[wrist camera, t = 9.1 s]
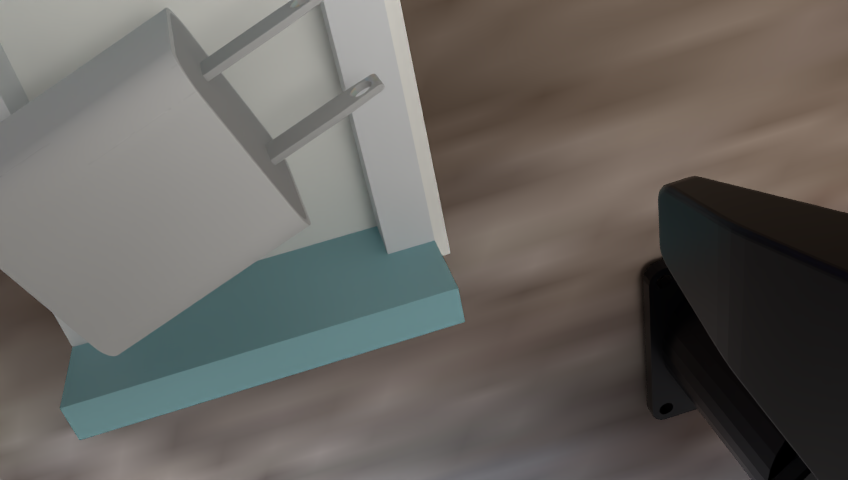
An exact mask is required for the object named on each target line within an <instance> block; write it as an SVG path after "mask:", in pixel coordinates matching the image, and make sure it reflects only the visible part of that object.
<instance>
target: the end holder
mask: <svg viewBox="0 0 848 480" xmlns="http://www.w3.org/2000/svg"><path fill="white" fill-rule="evenodd" d="M289 1H291V0H0V122H2V121H3V120H4V119H6V118H7V117H9V116H10V115H12V114H13V113H15V112H16V111H17V110H19V109H20V108H22V107H23V106H25V105H26V104H28V103H29V102H30V101H32V100H33V99H35V98H36V97H38V96H39V95H41V94H42V93H43V92H45V91H46V90H48V89H49V88H51V87H52V86H54V85H55V84H56V83H58V82H59V81H61V80H62V79H64V78H65V77H67V76H68V75H69V74H71V73H72V72H74V71H75V70H77V69H78V68H80V67H81V66H82V65H84V64H85V63H87V62H88V61H90V60H91V59H93V58H94V57H95V56H97V55H98V54H100V53H101V52H103V51H104V50H106V49H107V48H108V47H110V46H111V45H113V44H114V43H116V42H117V41H119V40H120V39H121V38H123V37H124V36H126V35H127V34H129V33H130V32H132V31H133V30H134V29H136V28H137V27H139V26H140V25H142V24H143V23H145V22H146V21H147V20H149V19H150V18H152V17H153V16H155V15H156V14H158V13H159V12H160V11H162V10H163V9H165V8H169V9H170V10H171V11H172V12H173V13H174V14H175V15H176V16H177V17H178V18H179V19H180V20H181V21H182V23H183V24H184V25H185V26H186V27H187V29H188V30H189V31H190V33H191V34H192V35H193V36H194V38H195V39H196V40H197V42H198V43H199V44H200V45H201V47H202V48H203V49H204V50H205V52H206V53H207V54H208V56H210V55H212V54H213V53H215V52H216V51H217V50H219V49H220V48H222V47H223V46H225V45H226V44H228V43H229V42H231V41H232V40H233V39H235V38H236V37H238V36H239V35H241V34H242V33H244V32H245V31H246V30H248V29H249V28H251V27H252V26H254V25H255V24H257V23H258V22H260V21H261V20H262V19H264V18H265V17H267V16H268V15H270V14H271V13H273V12H274V11H276V10H277V9H279V8H280V7H282V6H283V5H285V4H286V3H288V2H289ZM222 74H223V75H224V76H225V77H226V79H227V80H228V81H229V82H230V84H231V85H232V86H233V88H234V89H235V90H236V91H237V93H238V94H239V95H240V97H241V98H242V99H243V100H244V102H245V103H246V104H247V106H248V107H249V108H250V109H251V111H252V112H253V113H254V115H255V116H256V117H257V118H258V120H259V121H260V122H261V123H262V125H263V126H264V127H265V129H266V130H267V131H268V133H269V134H270V135H271V137H272V138H273V139H275V138H276V137H278V136H279V135H281V134H282V133H284V132H285V131H286V130H288V129H289V128H291V127H292V126H294V125H295V124H297V123H298V122H300V121H301V120H303V119H304V118H305V117H307V116H308V115H310V114H311V113H313V112H314V111H316V110H317V109H319V108H320V107H322V106H323V105H324V104H326V103H327V102H329V101H330V100H332V99H333V98H335V97H336V96H338V95H339V94H341V93H343V92H344V91H346V90H347V89H349V88H350V87H352V86H354V85H355V84H357V83H358V82H360V81H361V80H363V79H364V78H366V77H368V76H369V75H371V74H376V75H377V76H378V78H379V79H380V80H381V81H382V83H383V84H384V86H385V87H384V89H383V90H382V91H381V92H380V93H378V94H377V95H376V96H374V97H373V98H371V99H370V100H369V101H367V102H366V103H365V104H363V105H362V106H360V107H359V108H358V109H356V110H355V111H354V112H352V113H351V114H349V115H348V116H347V117H345V118H344V119H342V120H341V121H339V122H338V123H336V124H335V125H334V126H332V127H331V128H329V129H328V130H326V131H325V132H323V133H322V134H320V135H319V136H317V137H316V138H314V139H313V140H311V141H310V142H309V143H307V144H306V145H304V146H303V147H301V148H300V149H298V150H297V151H295V152H294V153H292V154H291V155H289V156H288V157H287V158H285V159H286V161H287V163H288V165H289V168H290V170H291V173H292V175H293V178H294V181H295V183H296V186H297V188H298V191H299V193H300V196H301V198H302V201H303V204H304V206H305V209H306V211H307V214H308V216H309V219H310V222H311V225H309V226H308V227H306V228H305V229H303V230H302V231H300V232H299V233H298V234H296V235H295V236H293V237H292V238H290V239H289V240H287V241H286V242H284V243H283V244H281V245H280V246H278V247H277V248H275V249H274V250H272V251H271V252H269V253H268V254H267V255H265V256H264V257H262V258H261V259H259V260H258V261H256V262H255V263H253V264H252V265H250V266H249V267H247V268H246V269H244V270H243V271H241V272H240V273H238V274H237V275H236V276H234V277H233V278H231V279H230V280H228V281H227V282H225V283H224V284H222V285H221V286H219V287H218V288H216V289H215V290H213V291H212V292H210V293H209V294H208V295H206V296H205V297H203V298H202V299H200V300H199V301H197V302H196V303H194V304H193V305H191V306H190V307H188V308H187V309H185V310H184V311H182V312H181V313H179V314H178V315H177V316H175V317H174V318H172V319H171V320H169V321H168V322H166V323H165V324H163V325H162V326H160V327H159V328H157V329H156V330H154V331H153V332H151V333H150V334H149V335H147V336H146V337H144V338H143V339H141V340H140V341H138V342H137V343H135V344H134V345H132V346H131V347H129V348H128V349H126V350H125V351H123V352H122V353H120V354H119V355H117V356H109V355H106V354H104V353H102V352H100V351H98V350H97V349H96V348H94V347H93V346H92V345H91V344H89V343H88V342H87V341H86V340H85V339H83V338H82V337H81V336H80V335H79V334H77V333H76V332H75V331H74V330H73V329H71V328H70V327H69V326H68V325H67V324H65V323H64V322H63V321H62V320H61V319H59V318H58V317H57V316H56V315H55V314H54V316H55V318H56V319H57V321H58V323H59V325H60V326H61V328H62V330H63V332H64V333H65V335H66V337H67V339H68V340H69V342H70V344H71V345H72V352H71V357H70V362H69V367H68V371H67V376H66V381H65V386H64V391H63V396H62V401H61V405H60V409H61V411H62V413H63V414H64V416H65V418H66V419H67V421H68V422H69V424H70V426H71V427H72V429H73V430H74V432H75V434H76V435H77V437H78V439H79V440H82V439H86V438H89V437H92V436H95V435H99V434H102V433H105V432H108V431H112V430H115V429H118V428H121V427H125V426H128V425H131V424H134V423H138V422H141V421H144V420H147V419H151V418H154V417H157V416H160V415H164V414H167V413H170V412H173V411H177V410H180V409H183V408H186V407H190V406H193V405H196V404H199V403H203V402H206V401H209V400H212V399H216V398H219V397H222V396H225V395H229V394H232V393H235V392H238V391H242V390H245V389H248V388H252V387H255V386H258V385H261V384H265V383H268V382H271V381H274V380H278V379H281V378H284V377H287V376H291V375H294V374H297V373H300V372H304V371H307V370H310V369H313V368H317V367H320V366H323V365H326V364H330V363H333V362H336V361H339V360H343V359H346V358H349V357H352V356H356V355H359V354H362V353H365V352H369V351H372V350H375V349H378V348H382V347H385V346H388V345H391V344H395V343H398V342H401V341H404V340H408V339H411V338H414V337H417V336H421V335H424V334H427V333H430V332H434V331H437V330H440V329H443V328H447V327H450V326H453V325H456V324H460V323H463V322H465V319H464V314H463V309H462V304H461V299H460V294H459V289H458V287H457V285H456V283H455V280H454V278H453V276H452V274H451V272H450V270H449V268H448V266H447V264H446V262H445V260H444V258H443V256H444V255H447V254H451V253H450V248H449V243H448V238H447V233H446V228H445V223H444V218H443V213H442V208H441V203H440V198H439V193H438V188H437V183H436V178H435V173H434V168H433V163H432V158H431V153H430V148H429V143H428V138H427V133H426V128H425V123H424V118H423V113H422V108H421V103H420V98H419V93H418V88H417V83H416V78H415V73H414V68H413V63H412V58H411V53H410V48H409V43H408V38H407V33H406V28H405V23H404V18H403V13H402V8H401V3H400V0H324V1H323V2H321V3H320V4H319V5H317V6H316V7H314V8H313V9H312V10H310V11H309V12H308V13H306V14H305V15H303V16H302V17H301V18H299V19H298V20H296V21H295V22H294V23H292V24H291V25H289V26H288V27H287V28H285V29H284V30H282V31H281V32H280V33H278V34H277V35H275V36H274V37H272V38H271V39H269V40H268V41H266V42H265V43H263V44H262V45H261V46H259V47H258V48H256V49H255V50H253V51H252V52H250V53H249V54H247V55H246V56H245V57H243V58H242V59H240V60H239V61H237V62H236V63H234V64H233V65H231V66H230V67H229V68H227V69H226V70H224V71H223V72H222ZM369 88H370V87H368V88H365V89H363V90H362V91H360V92H359V93H358V94H357V95H356V96H355V97H357V96H360V95H362V94H363V93H365V92H366V91H367V90H368V89H369Z"/></svg>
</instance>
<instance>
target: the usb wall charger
mask: <svg viewBox="0 0 848 480" xmlns="http://www.w3.org/2000/svg"><path fill="white" fill-rule="evenodd" d="M323 1H324V0H291V1H289V2H288V3H286V4H285V5H283V6H282V7H280V8H279V9H277V10H276V11H274V12H273V13H271V14H270V15H268V16H267V17H265V18H264V19H262V20H261V21H260V22H258V23H257V24H255V25H254V26H252V27H251V28H249V29H248V30H246V31H245V32H244V33H242V34H241V35H239V36H238V37H236V38H235V39H233V40H232V41H231V42H229V43H228V44H226V45H225V46H223V47H222V48H220V49H219V50H217V51H216V52H215V53H213V54H212V55H210V56H208V54H207V53H206V52H205V50H204V49H203V48H202V47H201V45H200V44H199V43H198V42H197V40H196V39H195V38H194V36H193V35H192V34H191V33H190V31H189V30H188V29H187V27H186V26H185V25H184V24H183V23H182V21H181V20H180V19H179V18H178V17H177V16H176V15H175V14H174V13H173V12H172V11H171V10H170V9H169V8H165V9H163V10H162V11H160V12H159V13H158V14H156V15H155V16H153V17H152V18H150V19H149V20H147V21H146V22H145V23H143V24H142V25H140V26H139V27H137V28H136V29H134V30H133V31H132V32H130V33H129V34H127V35H126V36H124V37H123V38H121V39H120V40H119V41H117V42H116V43H114V44H113V45H111V46H110V47H108V48H107V49H106V50H104V51H103V52H101V53H100V54H98V55H97V56H95V57H94V58H93V59H91V60H90V61H88V62H87V63H85V64H84V65H82V66H81V67H80V68H78V69H77V70H75V71H74V72H72V73H71V74H69V75H68V76H67V77H65V78H64V79H62V80H61V81H59V82H58V83H56V84H55V85H54V86H52V87H51V88H49V89H48V90H46V91H45V92H43V93H42V94H41V95H39V96H38V97H36V98H35V99H33V100H32V101H30V102H29V103H28V104H26V105H25V106H23V107H22V108H20V109H19V110H17V111H16V112H15V113H13V114H12V115H10V116H9V117H7V118H6V119H4V120H3V121H2V122H0V269H1V270H2V271H3V272H4V273H6V274H7V275H8V276H9V277H10V278H12V279H13V280H14V281H15V282H16V283H18V284H19V285H20V286H21V287H22V288H24V289H25V290H26V291H27V292H28V293H30V294H31V295H32V296H33V297H34V298H36V299H37V300H38V301H39V302H40V303H41V304H43V305H44V306H45V307H46V308H47V309H49V310H50V311H51V312H52V313H53V314H55V315H56V316H57V317H58V318H59V319H61V320H62V321H63V322H64V323H65V324H67V325H68V326H69V327H70V328H71V329H73V330H74V331H75V332H76V333H77V334H79V335H80V336H81V337H82V338H83V339H85V340H86V341H87V342H88V343H89V344H91V345H92V346H93V347H94V348H96V349H97V350H98V351H100V352H102V353H104V354H106V355H109V356H117V355H119V354H120V353H122V352H123V351H125V350H126V349H128V348H129V347H131V346H132V345H134V344H135V343H137V342H138V341H140V340H141V339H143V338H144V337H146V336H147V335H149V334H150V333H151V332H153V331H154V330H156V329H157V328H159V327H160V326H162V325H163V324H165V323H166V322H168V321H169V320H171V319H172V318H174V317H175V316H177V315H178V314H179V313H181V312H182V311H184V310H185V309H187V308H188V307H190V306H191V305H193V304H194V303H196V302H197V301H199V300H200V299H202V298H203V297H205V296H206V295H208V294H209V293H210V292H212V291H213V290H215V289H216V288H218V287H219V286H221V285H222V284H224V283H225V282H227V281H228V280H230V279H231V278H233V277H234V276H236V275H237V274H238V273H240V272H241V271H243V270H244V269H246V268H247V267H249V266H250V265H252V264H253V263H255V262H256V261H258V260H259V259H261V258H262V257H264V256H265V255H267V254H268V253H269V252H271V251H272V250H274V249H275V248H277V247H278V246H280V245H281V244H283V243H284V242H286V241H287V240H289V239H290V238H292V237H293V236H295V235H296V234H298V233H299V232H300V231H302V230H303V229H305V228H306V227H308V226H309V225H311V222H310V219H309V216H308V214H307V211H306V209H305V206H304V204H303V201H302V198H301V196H300V193H299V191H298V188H297V186H296V183H295V181H294V178H293V175H292V173H291V170H290V168H289V165H288V163H287V161H286V159H285V158H287V157H288V156H289V155H291V154H292V153H294V152H295V151H297V150H298V149H300V148H301V147H303V146H304V145H306V144H307V143H309V142H310V141H311V140H313V139H314V138H316V137H317V136H319V135H320V134H322V133H323V132H325V131H326V130H328V129H329V128H331V127H332V126H334V125H335V124H336V123H338V122H339V121H341V120H342V119H344V118H345V117H347V116H348V115H349V114H351V113H352V112H354V111H355V110H356V109H358V108H359V107H360V106H362V105H363V104H365V103H366V102H367V101H369V100H370V99H371V98H373V97H374V96H376V95H377V94H378V93H380V92H381V91H382V90H383V89H384V87H385V86H384V84H383V83H382V81H381V80H380V79H379V78H378V76H377V75H376V74H371V75H369V76H368V77H366V78H364V79H363V80H361V81H360V82H358V83H357V84H355V85H354V86H352V87H350V88H349V89H347V90H346V91H344V92H343V93H341V94H339V95H338V96H336V97H335V98H333V99H332V100H330V101H329V102H327V103H326V104H324V105H323V106H322V107H320V108H319V109H317V110H316V111H314V112H313V113H311V114H310V115H308V116H307V117H305V118H304V119H303V120H301V121H300V122H298V123H297V124H295V125H294V126H292V127H291V128H289V129H288V130H286V131H285V132H284V133H282V134H281V135H279V136H278V137H276V138H275V139H273V138H272V137H271V135H270V134H269V133H268V131H267V130H266V129H265V127H264V126H263V125H262V123H261V122H260V121H259V120H258V118H257V117H256V116H255V115H254V113H253V112H252V111H251V109H250V108H249V107H248V106H247V104H246V103H245V102H244V100H243V99H242V98H241V97H240V95H239V94H238V93H237V91H236V90H235V89H234V88H233V86H232V85H231V84H230V82H229V81H228V80H227V79H226V77H225V76H224V75H223V74H222V72H223V71H224V70H226V69H227V68H229V67H230V66H231V65H233V64H234V63H236V62H237V61H239V60H240V59H242V58H243V57H245V56H246V55H247V54H249V53H250V52H252V51H253V50H255V49H256V48H258V47H259V46H261V45H262V44H263V43H265V42H266V41H268V40H269V39H271V38H272V37H274V36H275V35H277V34H278V33H280V32H281V31H282V30H284V29H285V28H287V27H288V26H289V25H291V24H292V23H294V22H295V21H296V20H298V19H299V18H301V17H302V16H303V15H305V14H306V13H308V12H309V11H310V10H312V9H313V8H314V7H316V6H317V5H319V4H320V3H321V2H323ZM368 87H370V88H369V89H368V90H367V91H366V92H365V93H363V94H362V95H360V96H357V97H355V96H356V95H357V94H358V93H359V92H360V91H362V90H363V89H365V88H368Z"/></svg>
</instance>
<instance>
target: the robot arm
mask: <svg viewBox="0 0 848 480" xmlns="http://www.w3.org/2000/svg"><path fill="white" fill-rule="evenodd" d="M658 210H659V237H660V249H661V253H662V256H663V259H664V260H661V261H658V262H656V263H654V264H652V265H651V266H649V267H648V268H647V269H646V271H645V273H644V276H643V298H644V327H645V356H646V384H647V406H648V409H649V410H650V412H651V413H652V415H653V416H654V417H655V418H656V419H660V420H662V419H667V418H670V417H673V416H676V415H679V414H682V413H686V412H689V411H692V410H695V409H698V410H699V412H700V413H701V414H702V416H703V417H704V418H705V419H706V421H707V422H708V423H709V425H710V426H711V427H712V429H713V430H714V431H715V432H716V434H717V435H718V436H719V438H720V439H721V440H722V442H723V443H724V444H725V445H726V447H727V448H728V449H729V451H730V452H731V453H732V455H733V456H734V457H735V458H736V460H737V461H738V462H739V464H740V465H741V466H742V468H743V469H744V470H745V471H746V473H747V474H748V475H749V477H750V478H751V479H752V480H848V213H845V212H841V211H837V210H832V209H828V208H824V207H820V206H816V205H812V204H808V203H804V202H800V201H796V200H792V199H788V198H784V197H779V196H775V195H771V194H767V193H763V192H759V191H755V190H751V189H747V188H743V187H739V186H735V185H731V184H727V183H722V182H718V181H714V180H710V179H706V178H702V177H698V176H692V177H688V178H685V179H681V180H678V181H675V182H672V183H669V184H666V185H664V186H663V187H662V188H661V190H660V192H659V196H658ZM663 275H665V276H664V277H663V278H662V279H661V280H659V281H657V280H658V279H659V278H660V277H661V276H663Z"/></svg>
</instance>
